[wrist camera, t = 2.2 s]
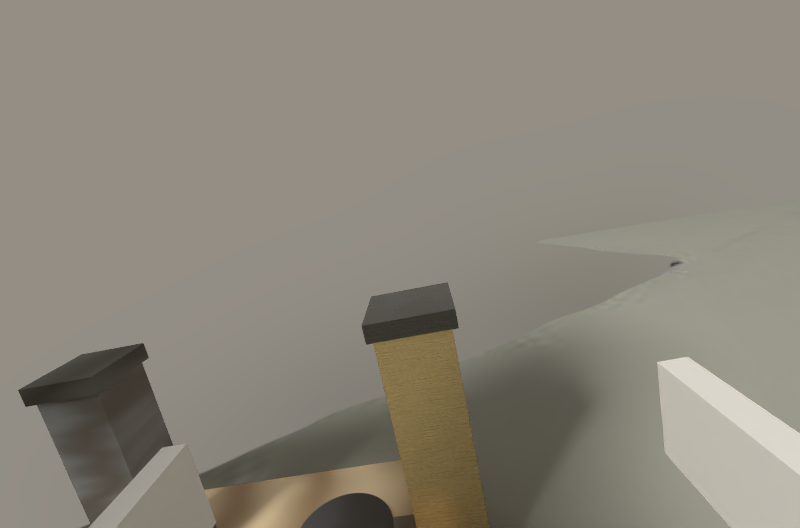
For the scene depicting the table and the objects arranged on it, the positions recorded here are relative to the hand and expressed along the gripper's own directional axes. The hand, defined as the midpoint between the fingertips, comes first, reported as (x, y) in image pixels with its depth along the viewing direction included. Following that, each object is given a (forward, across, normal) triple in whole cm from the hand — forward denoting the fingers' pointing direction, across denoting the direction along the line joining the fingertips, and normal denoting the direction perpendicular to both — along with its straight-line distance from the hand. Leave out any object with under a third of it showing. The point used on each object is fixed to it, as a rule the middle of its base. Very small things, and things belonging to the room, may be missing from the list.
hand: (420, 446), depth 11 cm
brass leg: (+11, 0, -13) cm, 17 cm away
